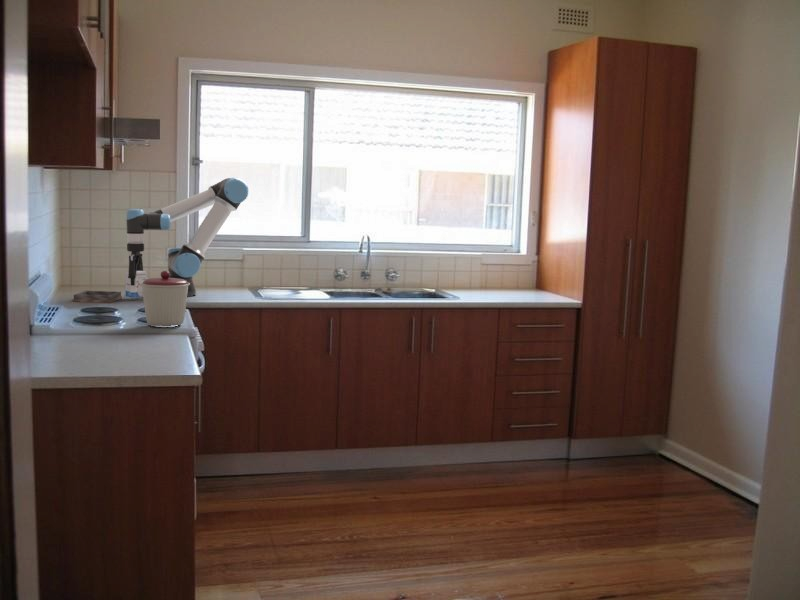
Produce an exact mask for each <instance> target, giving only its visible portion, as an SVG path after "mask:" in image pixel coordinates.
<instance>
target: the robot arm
mask: <svg viewBox="0 0 800 600" xmlns="http://www.w3.org/2000/svg"><path fill="white" fill-rule="evenodd" d="M248 196H249V187H248V185H247V183H246V182H245V181H244V180H243V179H241V178H238V177H228V178H225V179H222V180H221V181H218V182H217V183H215V184H213V185H210V186H209V187H208V188H207V190H204V191H202V192H199V193H196V194H194V195H191V196H190V197H187V198H185V199H182V200H180V201H177V202H175V203H172V204H170V205H168V206H165V207H162V208H160V209H158V210H156V211H152V212H149V213H145V212H144V209H142V208H141V209H137V208H133V209H132V208H131V209H130V208H129V209H127V210H126V219H125V220H126V221H125V222H126V235H125V238H126V242H127V244H126V250H127V252H130V254H131V255H128V271H129V275H128V278H130V292H137V285H136V271H144V267H143V265H144V264H143V263H144V262H143V254H142V253H141V252H144V251H145V244H144V242H145V231H149V230H150V231H167V230H170V228H171V223H172V222H174V221H177V220H179V219H181V218H184V217H186V216H189V215H191V214H194V213H196V212H198V211H201V210H203V209H206V208H209V207H211V206H212V207H211V209H210V210H209V211H208V213H207V215H206V216H205V217H204V219H203V220H202V222H201V223H200V225H199V227H198V228H197V230H196V231H195V233H194V234H193V236H192V237H191V238H190V241H189V242H187V243H184V244H183V245H182V246H181V247H178V248H177V247H176V248H175V247H174V248H173V247H172V248H169V249H168V250H167V271H168V272H170V277H169V278H178V279H184V280H186V281H187V282H188V283H190V285H189V286H188V293H187V296H189V297H194V296H193V295H195V296H197V290H196V286H195V283H194V281H193V279H194V278H193V277H194V276H196V275H197V274H198V273H199V271H200V269H201V266H202V265H201V264H202V263H203V262H204V260H205V258H206V256H205V253H206V251H207V250H208V248H209V246H210V244H211V243H212V241H213V240H214V239H215V237H216V236H217V235H218V233H219V231H220V229H221V228H222V227H223V225H224V224H225V222H226V221H227V219H228V217H229V216H230V214H231V212H234V211H237V210H238V208H239V206H240V205H241V204H242V202H244V201H245V200H247V198H248Z"/></svg>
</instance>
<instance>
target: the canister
mask: <svg viewBox="0 0 800 600" xmlns="http://www.w3.org/2000/svg"><path fill="white" fill-rule="evenodd" d="M169 277H170V272H168V270H162V271H161V272H160V277H153V278H147V279H146V280H144V281H143V282H141V283H140V284H141V285H142V289H143V298H142V299H143V306H144V312H145V313H144V314H145V320H146V322H147V324H148V325H149V326H150V325H162V326H171V325H180V326H182V325H183V323H184V320H185V314H186V308H187V300H188V297H187V293H188V286H189V285H190V283H188V282H187V281H186V280H184V279H178V278H169ZM181 324H182V325H181Z"/></svg>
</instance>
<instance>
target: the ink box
mask: <svg viewBox="0 0 800 600" xmlns="http://www.w3.org/2000/svg"><path fill="white" fill-rule="evenodd" d="M128 275H129V270H127V271H125V297H126V298H131V299H132V298H142V297H143V289H142V285H141V284H140V283H141V282H143V281H144V280H146V279H148V278H147V277H148V272H147V271H145V270H143V271H136V285H137V292H130V278H128Z"/></svg>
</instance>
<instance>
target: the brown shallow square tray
mask: <svg viewBox="0 0 800 600" xmlns="http://www.w3.org/2000/svg"><path fill="white" fill-rule="evenodd" d="M121 299H123V295H122V291H115V290H114V291H113V290H111V291H109V290H108V291H107V290H84V291H81V292H77V293H74V294H73V298H72V302H76V301H80V302H83V303H84V302H86V303H109V304H110V303H114V302H115V301H118V300H121ZM80 302H79V303H80Z"/></svg>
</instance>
